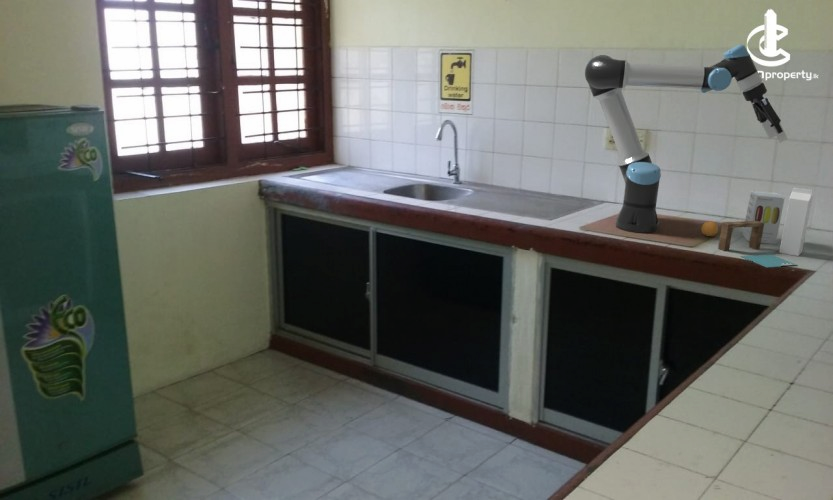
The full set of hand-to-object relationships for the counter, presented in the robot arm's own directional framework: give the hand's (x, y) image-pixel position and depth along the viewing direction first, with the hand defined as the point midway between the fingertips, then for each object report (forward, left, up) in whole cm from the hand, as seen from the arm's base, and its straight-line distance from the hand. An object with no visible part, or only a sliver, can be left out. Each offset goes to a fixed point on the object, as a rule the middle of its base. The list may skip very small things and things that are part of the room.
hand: (778, 139), depth 269 cm
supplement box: (-10, -11, -35) cm, 38 cm away
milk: (-11, -27, -35) cm, 45 cm away
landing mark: (-26, -34, -34) cm, 55 cm away
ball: (-26, -4, -32) cm, 41 cm away
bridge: (-26, -20, -34) cm, 47 cm away
